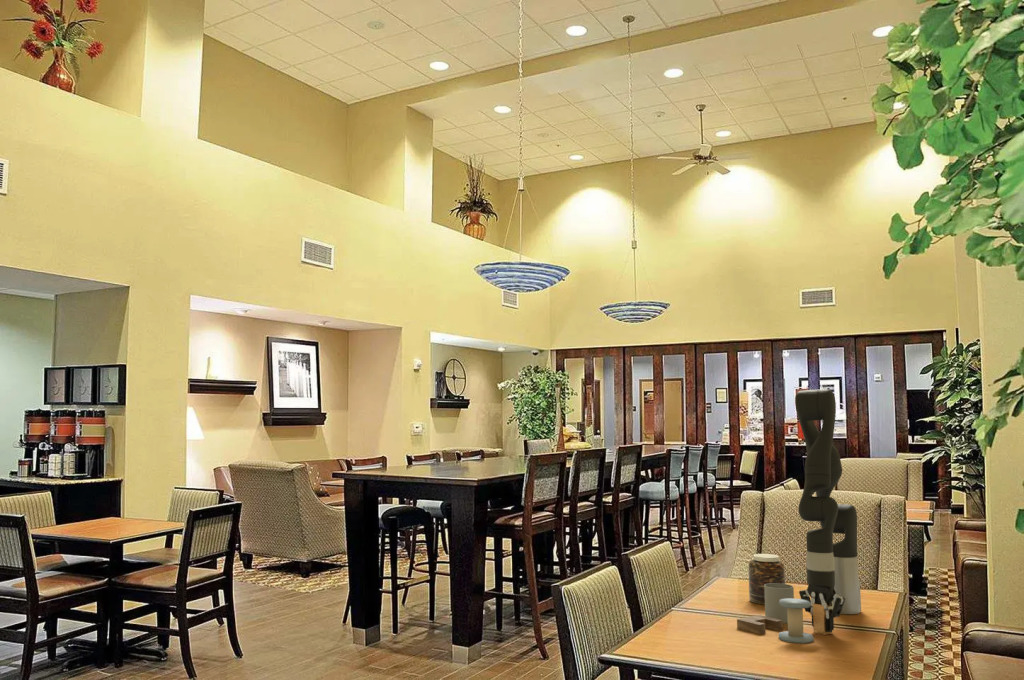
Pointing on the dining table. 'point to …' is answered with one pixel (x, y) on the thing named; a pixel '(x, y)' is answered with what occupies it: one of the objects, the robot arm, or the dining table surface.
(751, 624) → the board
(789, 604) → the bobbin
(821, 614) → the block
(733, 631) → the dining table surface
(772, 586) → the cup
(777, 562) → the jar
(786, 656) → the dining table surface
